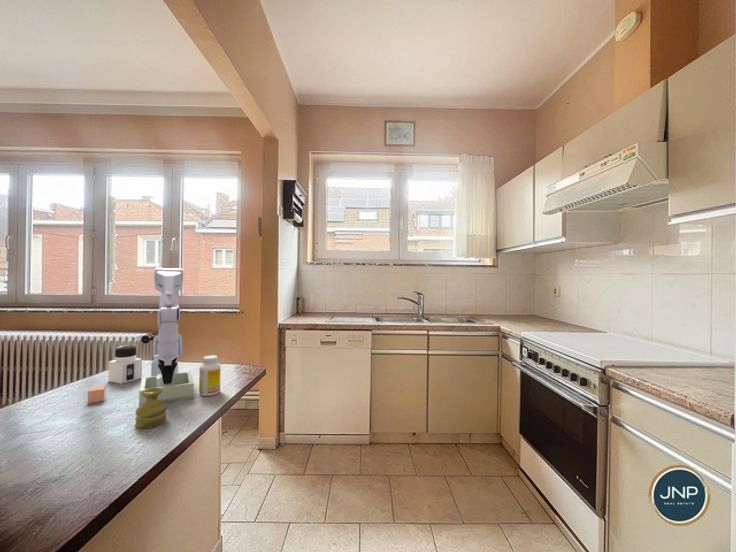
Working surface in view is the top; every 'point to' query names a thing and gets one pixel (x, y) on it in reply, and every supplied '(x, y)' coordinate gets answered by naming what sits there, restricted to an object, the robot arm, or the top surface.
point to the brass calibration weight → (151, 410)
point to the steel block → (160, 381)
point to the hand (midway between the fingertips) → (167, 381)
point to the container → (125, 365)
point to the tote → (170, 388)
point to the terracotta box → (96, 394)
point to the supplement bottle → (209, 376)
